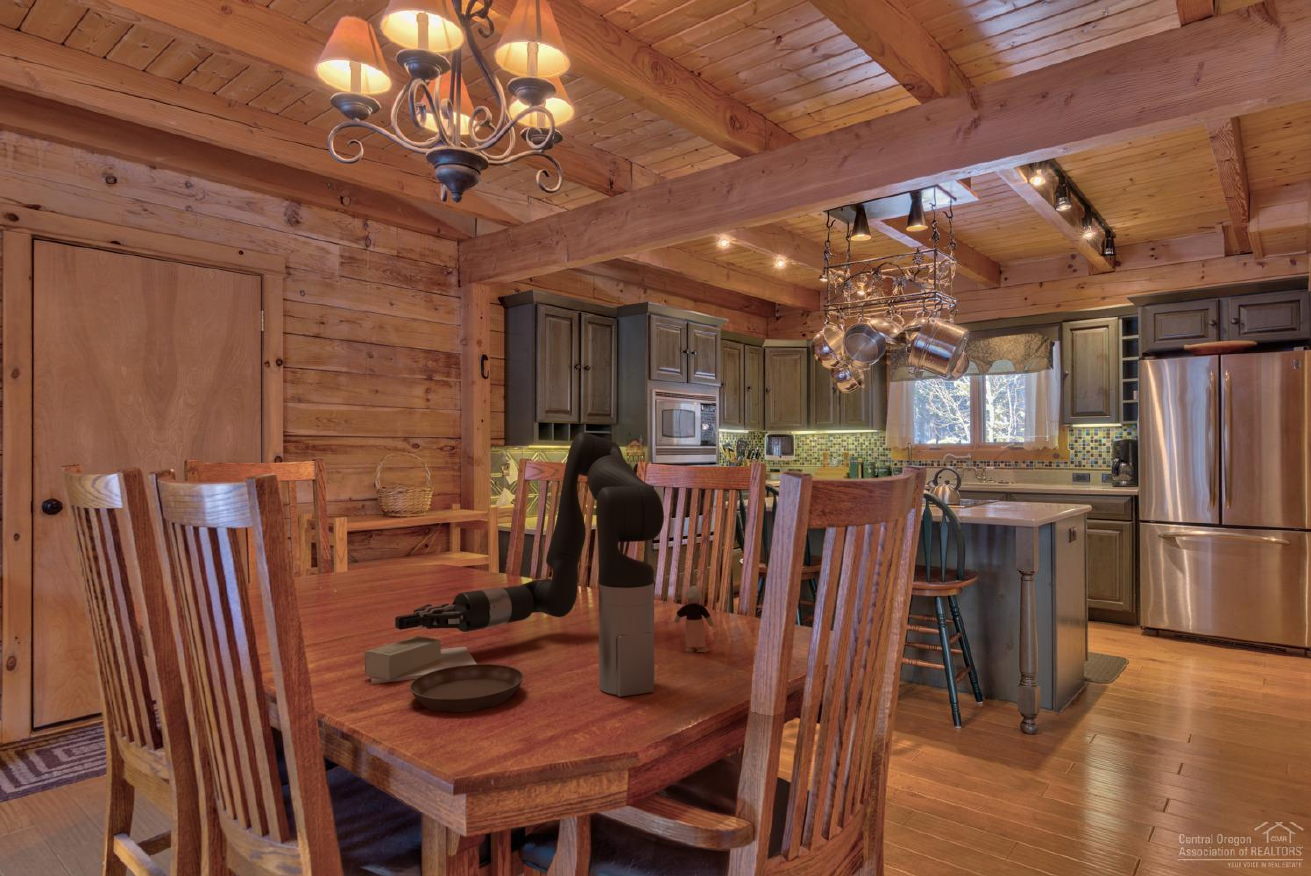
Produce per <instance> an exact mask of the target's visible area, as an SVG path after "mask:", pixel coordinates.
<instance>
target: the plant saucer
mask: <svg viewBox="0 0 1311 876" xmlns="http://www.w3.org/2000/svg"><path fill="white" fill-rule="evenodd" d="M523 679H524V674H523V672H522V671H521V670H519V669H518V668H515V667H512V666H508V665H502V664H492V663H479V664H478V663H476V664H473V665H462V666H455V667H449V668H444V669H440V670H436V671H433V672H430V673H427V674H425V675H422V676H420V677H418V678H417V679H413V681H411V683H410V684H409V690H410V692H411V694H412V695H413V697H415V699H416V700H417V701H418V702H419V703H420V704H421V705H422V706H424V707H425V708H427V709H430V710H433V709H434V710H433V711H439V712H451V713H453V712H455V713H458V712H459V711H463V712H470V711H469V710H473V711H478V709H480V710H484V709H488V708H492V707H495V706H497V705H500V704H503V703H504V702H506V701H508V700H509V699H510V698H511V697H512V696H513V695H514V693H515V692H516V691H517V690H518V689H519V687H520V686H521V684H522V683H523V682H522V681H523ZM456 711H458V712H456ZM459 713H460V712H459Z"/></svg>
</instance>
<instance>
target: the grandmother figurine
mask: <svg viewBox="0 0 1311 876" xmlns="http://www.w3.org/2000/svg"><path fill="white" fill-rule="evenodd" d="M702 593H703V592H702V589H701V587H700V586H698V585H691V586H690V587H688V588H687V589H686V591H685V596H684V597H685V598H686V599H687V600H688V603H689V604H685V605H683V606H681V607H680V608H679V609H678V610H677V612H676V615H675V618H674V622H675V623H676V624H679V622H680V621H681V619H682V618H684V617H686V619H685V625H684V629H685V632H684V633H685V634H684V636H685V637H684V638H685V645H686V648H685V652H686V653H694V652H695V651H696V653H698V652H704V653H707V652H709V648H708V647H707V646H706V635H705V623H704V619H705V620H706V622H707V625H708V627H713V626H714V621H712V620H713V619H712V617H711V613H710V612H709V610H708V609H707V608H706V607H705V606H704V605H701V604H699V603H700V602H701V599H702Z"/></svg>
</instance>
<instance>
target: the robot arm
mask: <svg viewBox="0 0 1311 876" xmlns="http://www.w3.org/2000/svg"><path fill="white" fill-rule="evenodd" d="M563 472H564V474H563V479H562V485H561V490H560V497H559V503H558V509H557V516H556V521H555V523H554V529H553V532H552V535H551V539H550V543H549V547H548V549H547V553H546V559H545V560H546V561H545V563H546V565H547V566H548V567H550V568H551V570H552V571H551V572H552V573H551V579H548V578H547V579H546V578H545V579H544V578H543V579H542V578H541V579H535V580H530V581H528V582H525V583H522V584H521V585H517V586H516V585H515V586H513V585H512V586H508V587H499V588H486V589H485V588H484V589H477V590H470V591H464V592H460V593H458V594H457V595H456V596H455V597H454V599H453V602H452V604H449V602H443V603H439V604H438V605H433V604H429V603H428V604H425V605H423V606H420V607H418V608H415V609H413V613H410V614H402V615H397V616H396V617H395V618H394V625H395V626H394V628H396V629H397V630H400V631H401V630H406V629H408V630H409V629H412V628H413V629H414V628H419V629H424V628H426V629H427V630H432V629H433V630H434V629H458V630H459V631H460V632H462V633H469V632H474V631H478V630H484V629H489V628H496V627H498V626H501V625H504V624H509V623H516V622H520V621H523V620H526V619H528V618H530V617H531V616H532V614H533V613H543V614H546V615H549V616H552V617H553V618H562V617H565V616H567V615H568V614H569V613H570V612H571V611H572V609H573V608H574V606H575V603H576V601H577V595H578V584H579V583H578V581H579V580H578V579H579V563H580V560H581V556H582V553H583V549H584V545H585V541H586V535H587V531H586V521H585V519H584V515H583V511H582V507H581V504H580V499H579V494H578V485H579V484H578V483H579V476H583V477H586V478H587V479H586V480H587V486H588V490H589V492H590V493H591V495H592V497H593V499H594V500H595V501H596V504H595V505H596V506H595V510H596V511H595V515H596V531H597V533H596V534H597V552H598V553H597V554H598V557H597V558H598V560H597V561H598V566H597V567H598V570H597V571H598V689H599V690H600V691H602V692H603V693H607V694H611V695H616V696H617V697H620V698H621V697H626V696H634V695H635V696H636V695H641V694H648V693H654V692H655V583H654V582H655V574H654V568H653V566H652V565H651V564H649V563H647V562H645V561H642V560H638V559H635V558H632V557H630V556H628V555H626V554H625V553H623V552H622V551H621V550H620V547H619V543H630V542H631V543H632V542H646V541H651V540H653V539H655V538H657V537H658V536H659V534H660V533H661V531H662V529H663V526H664V521H665V513H664V506H663V502H662V500H661V498H660V497H661V496H660V495H659V494H658V492H657V490H656V489H655V488H654V487H652V485H650V484H648V483H646V482H645V481H644V480H642V479H641V477H639V475H637V474H636V472H635V470H633V468H632V467H631V465H630V464H629V463H628V462H627V460H626V459H625V458H624V454H623V452H622V450H621V448H620V445H619V444H617V443H616V442H614V441H612V440H609V439H608V438H604V437H600V436H598V435H594V434H592V433H588V432H583V431H581V432H579V433H577V434H576V435H575V437H574V438H573V440H572V442H571V443H570V447H569V450H568V453H567V457H566V462H565V468H564V471H563Z"/></svg>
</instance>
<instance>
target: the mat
mask: <svg viewBox="0 0 1311 876" xmlns="http://www.w3.org/2000/svg"><path fill="white" fill-rule="evenodd" d="M473 664H477V662H476V660H475V659H474V657H473V656H472V654H471V653H470V651H469V649H468V648H467V647H466V646H460V647H459V646H458V647H450V648H441V662H440V663H438V664H435V665H432V666H429V667H426V668H423V669H421V670H418V671H415V672H412V673H409V674H406V675H403V676H400V677H397V678H394V679H391V680H385V679H379V678H374V677H370V681H371V682H370V683H371V685H374V684H384V683H392V682H402V681H409V680H415V679H417V678H418V677H420V676H422V675H425V674H427V673H430V672H433V671H436V670H440V669H444V668H449V667H455V666H462V665H473Z"/></svg>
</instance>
